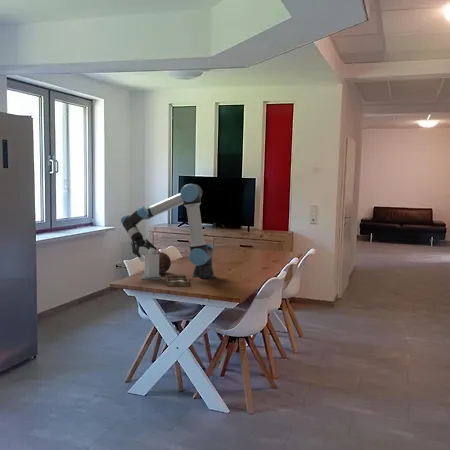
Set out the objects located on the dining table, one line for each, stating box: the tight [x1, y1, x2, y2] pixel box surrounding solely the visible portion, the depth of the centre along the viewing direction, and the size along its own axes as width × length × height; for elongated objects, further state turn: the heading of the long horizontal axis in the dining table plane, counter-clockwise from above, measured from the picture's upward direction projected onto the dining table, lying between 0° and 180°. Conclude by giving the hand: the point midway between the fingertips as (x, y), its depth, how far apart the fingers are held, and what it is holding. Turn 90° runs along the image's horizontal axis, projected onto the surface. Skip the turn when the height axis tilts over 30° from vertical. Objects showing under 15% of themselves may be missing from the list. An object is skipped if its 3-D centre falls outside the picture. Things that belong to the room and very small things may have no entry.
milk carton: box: [143, 248, 160, 278], centre depth 314 cm, size 7×7×19 cm
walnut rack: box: [164, 274, 190, 287], centre depth 302 cm, size 14×21×4 cm, turn 9°
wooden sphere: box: [157, 251, 172, 274], centre depth 337 cm, size 15×15×15 cm
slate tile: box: [141, 274, 162, 281], centre depth 314 cm, size 12×12×2 cm
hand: (150, 260), depth 314 cm, fingers open, 13 cm apart
